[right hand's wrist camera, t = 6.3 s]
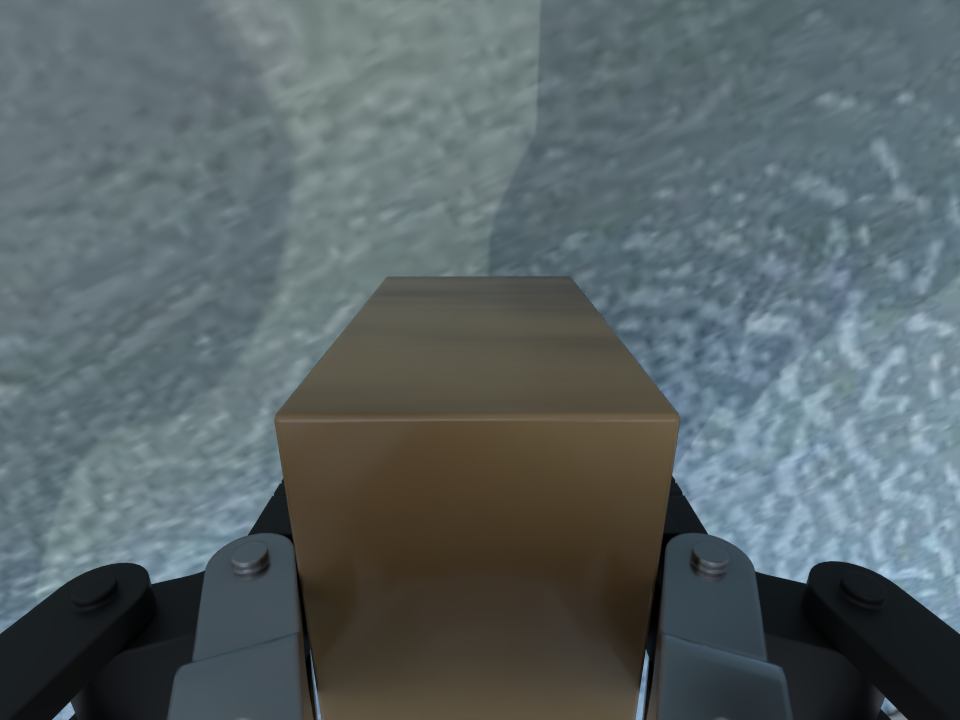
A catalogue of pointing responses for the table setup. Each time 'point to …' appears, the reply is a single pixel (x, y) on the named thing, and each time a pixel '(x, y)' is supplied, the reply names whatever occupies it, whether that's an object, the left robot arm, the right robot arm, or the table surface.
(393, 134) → the table surface
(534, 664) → the bar
